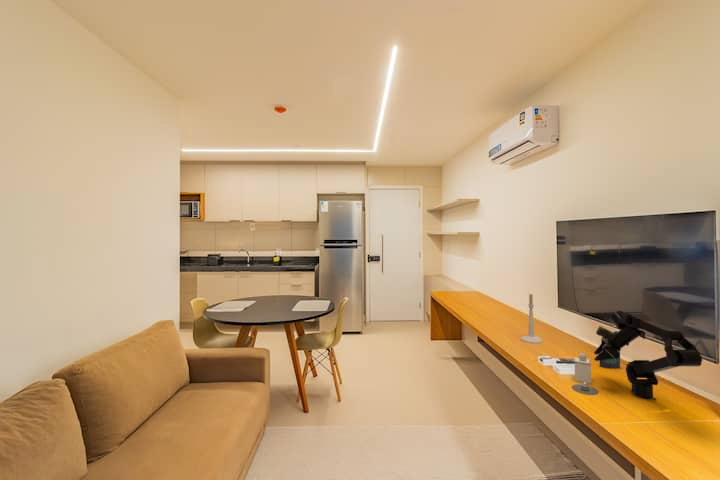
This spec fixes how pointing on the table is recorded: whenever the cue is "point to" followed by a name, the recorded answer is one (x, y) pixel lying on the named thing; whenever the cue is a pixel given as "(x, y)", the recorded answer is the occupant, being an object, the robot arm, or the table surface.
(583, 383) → the stud
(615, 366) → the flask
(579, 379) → the rubber stamp
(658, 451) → the table surface
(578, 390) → the gray disc
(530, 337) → the candlestick
